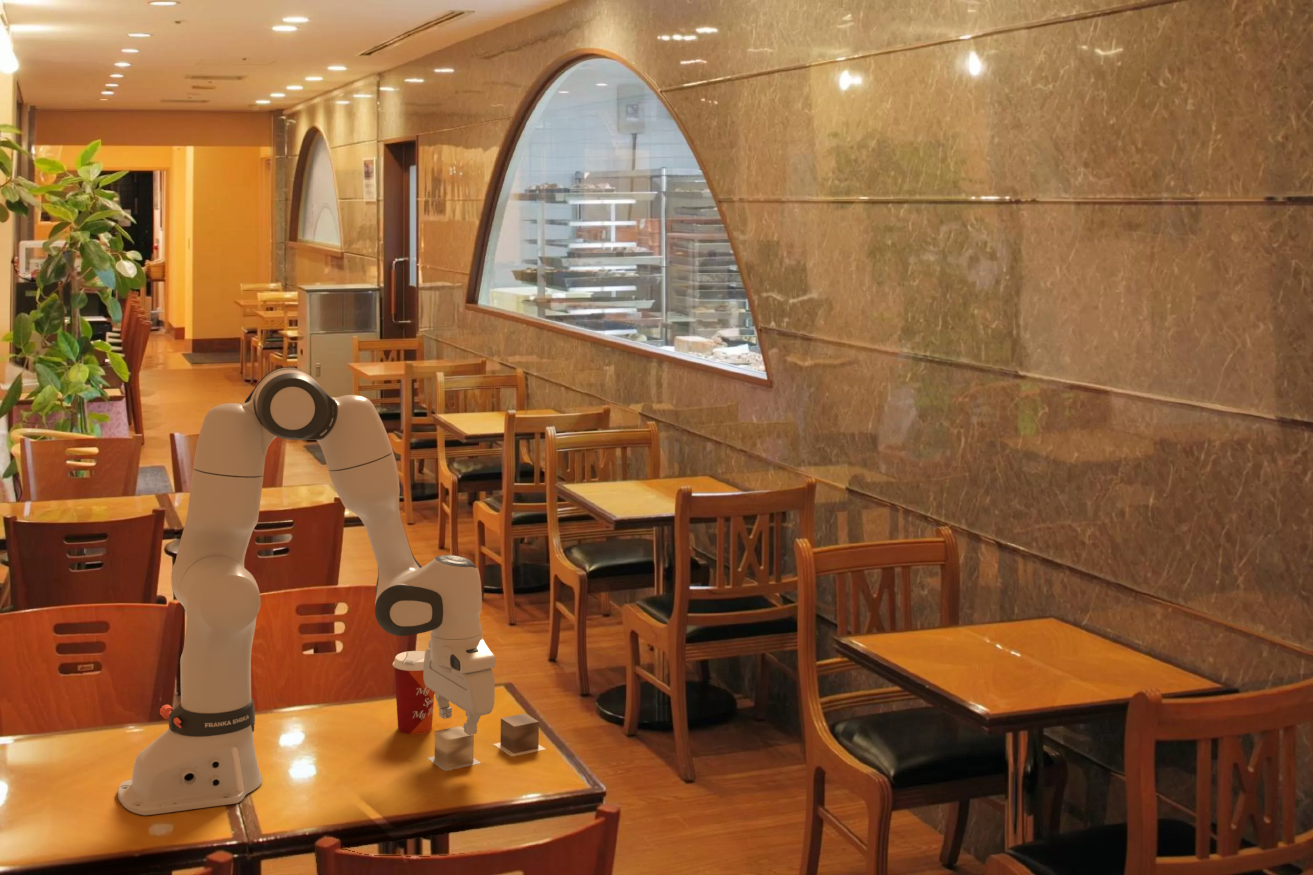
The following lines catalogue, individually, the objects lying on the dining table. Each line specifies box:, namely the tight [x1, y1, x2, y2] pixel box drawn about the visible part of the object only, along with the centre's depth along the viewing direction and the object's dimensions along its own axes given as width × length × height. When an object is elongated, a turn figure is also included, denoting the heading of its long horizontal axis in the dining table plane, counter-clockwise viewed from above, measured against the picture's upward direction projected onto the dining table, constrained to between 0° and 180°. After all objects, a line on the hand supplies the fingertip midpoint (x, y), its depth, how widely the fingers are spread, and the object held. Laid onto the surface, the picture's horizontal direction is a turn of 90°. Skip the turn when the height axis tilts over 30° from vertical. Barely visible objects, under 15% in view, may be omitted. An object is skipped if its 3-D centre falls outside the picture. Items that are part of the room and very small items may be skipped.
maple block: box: [434, 725, 475, 768], centre depth 234 cm, size 5×5×5 cm
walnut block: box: [499, 713, 540, 754], centre depth 241 cm, size 5×5×5 cm
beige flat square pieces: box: [426, 742, 547, 772], centre depth 238 cm, size 22×14×1 cm, turn 125°
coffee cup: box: [392, 650, 435, 735], centre depth 249 cm, size 8×8×15 cm
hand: (457, 725), depth 234 cm, fingers open, 8 cm apart
